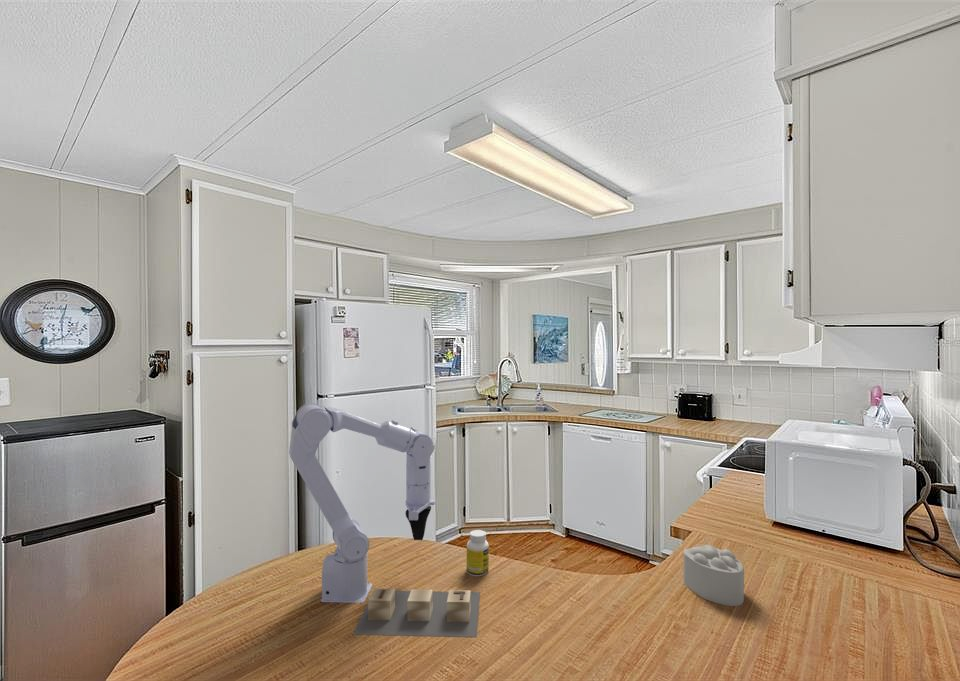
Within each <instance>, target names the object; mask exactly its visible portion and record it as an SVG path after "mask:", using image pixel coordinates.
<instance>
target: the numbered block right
mask: <svg viewBox="0 0 960 681" xmlns="http://www.w3.org/2000/svg"><path fill="white" fill-rule="evenodd" d="M448 592H449V594H448V599H447V622H469V621H470V611H471V592H472V591H471V590H469V589H468V590H467V589H449V590H448Z"/></svg>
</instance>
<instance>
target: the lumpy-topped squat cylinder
mask: <svg viewBox="0 0 960 681" xmlns="http://www.w3.org/2000/svg"><path fill="white" fill-rule="evenodd" d="M682 554H683V555H682V556H683V564H682V565H683V568H682V569H683V572H682V573H683V576H682V577H683V578H682V579H683V581H682V582H683V584H684V585H685V587H687V588H688V589H689V590H691V591H692V592H693V593H695V594H696V595H697V596H699V597H701V598H702V599H705V600H707V601H710V602H712V603H715V604H719V605H722V606H729V607H738V606H742V605H743V603H744V600H745V568H744V564H743V563H742V562H741V561H740V559H738V558H736V556H735V554H734V553H733V551H732V550H729V549H725V548H724V549H720V548H718V547H714V545H713V546H712V545H710V544H705V545H700V546H693V547H691V548H684V550H683V553H682Z"/></svg>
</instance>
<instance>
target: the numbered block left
mask: <svg viewBox="0 0 960 681" xmlns="http://www.w3.org/2000/svg"><path fill="white" fill-rule="evenodd" d="M395 591H396V589H395V588H373V590H372V591H371V594H370V595H369V598H368V600H367V604H368V620H391V617H392V615H393V612H394V609H395Z"/></svg>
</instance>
